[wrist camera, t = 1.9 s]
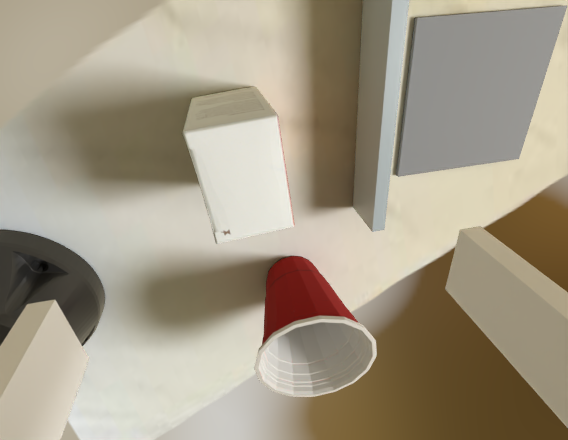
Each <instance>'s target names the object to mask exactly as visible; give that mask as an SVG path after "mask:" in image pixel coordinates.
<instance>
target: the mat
mask: <svg viewBox="0 0 568 440" xmlns="http://www.w3.org/2000/svg"><path fill="white" fill-rule="evenodd" d="M566 8H567V6H555V7H543V8H531V9H519V10H506V11H494V12H482V13H469V14H457V15H445V16H432V17H420V18H415V22H414V30H413V38H412V47H411V55H410V64H409V72H408V80H407V89H406V97H405V106H404V114H403V122H402V131H401V139H400V148H399V156H398V165H397V173H396V175H397V176H398V177H399V176H405V175H412V174H419V173H426V172H433V171H439V170H446V169H453V168H460V167H466V166H473V165H480V164H487V163H494V162H500V161H507V160H514V159H519V157H520V154H521V150H522V147H523V144H524V141H525V138H526V135H527V131H528V128H529V125H530V122H531V119H532V116H533V112H534V109H535V106H536V103H537V100H538V97H539V94H540V90H541V87H542V84H543V81H544V78H545V75H546V71H547V68H548V65H549V62H550V59H551V56H552V52H553V49H554V46H555V43H556V40H557V37H558V34H559V30H560V27H561V24H562V21H563V18H564V15H565V11H566Z"/></svg>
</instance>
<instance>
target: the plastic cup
mask: <svg viewBox="0 0 568 440" xmlns="http://www.w3.org/2000/svg"><path fill="white" fill-rule="evenodd" d="M376 355H377V353H376V340H375V339H374V338H373V337H372V335H371V334H370V333H369V332H368V331H367V329H366V328H365V327H364V326H363V325H362V324H360V323H358V321H357V320H356V319H355V318H354V316H353V315H352V314H351V313H350V311H349V310H348V309H347V308H346V307H345V305H344V304H343V303H342V301H341V300H340V298H339V297H338V296H337V294H336V293H335V292H334V290H333V289H332V287H331V286H330V285H329V283H328V282H327V281H326V280H325V278H324V277H323V276H322V275H321V274H320V273H319V271H318V270H317V268H316V267H315V266H314V265H313V264H312V263H311V262H310V261H309V260H307V259H305V258H303V257H298V256H290V257H287V258H283V259H281V260H279V261H278V262H276V263H275V264H274V265H273V266H272V267H271V269H270V270H269V272H268V276H267V281H266V298H265V316H264V337H263V342H262V346H261V347H260V348H259V351H258V355H257V359H256V363H255V367H254V369H255V371H256V374H257V376H258V379H259V381H260V382H261V383H262V384H263V385H265V386H266V387H267V388H269V389H270V390H272V391H273V392H276V393H280V394H284V395H287V396H291V397H314V396H318V395H323V394H327V393H332V392H335V391H338V390H339V389H342V388H344V387H346V386H348V385H350V384H352V383H354V382H355V381H357V380H358V379H359V378H360V377H361V376H362V375H364V374H365V373H366V372H367V371H368V370H369V369H370V367H371V365H372V363H373V361H374V359H375V357H376Z"/></svg>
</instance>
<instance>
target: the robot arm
mask: <svg viewBox="0 0 568 440" xmlns="http://www.w3.org/2000/svg"><path fill="white" fill-rule="evenodd" d="M445 289H446V290H447V292H448V293H449V294H450V295H451V296H452V297H453V298H454V300H455V301H456V302H457V303H458V304H459V305H460V306H461V307H462V308H463V310H464V311H465V312H466V313H467V314H468V315H469V317H470V318H471V319H472V320H473V321H474V322H475V323H476V324H477V326H478V327H479V328H480V329H481V330H482V331H483V332H484V333H485V335H486V336H487V337H488V338H489V339H490V340H491V341H492V343H493V344H494V345H495V346H496V347H497V348H498V349H499V351H500V352H501V353H502V354H503V355H504V356H505V357H506V359H507V360H508V361H509V362H510V363H511V364H512V365H513V366H514V368H515V369H516V370H517V371H518V372H519V373H520V374H521V375H522V377H523V378H524V379H525V380H526V381H527V382H528V384H530V386H531V387H532V388H533V389H534V390H535V391H536V393H537V394H538V395H539V396H540V397H541V398H542V399H543V401H544V402H545V403H546V404H547V405H548V406H549V407H550V408H551V410H552V411H553V412H554V413H555V414H556V415H557V416H558V418H559V419H560V420H561V421H562V422H563V423H564V424H565V425H566V427H567V428H568V293H567V292H566V291H565V290H563V289H562V288H561V287H560V286H558V285H557V284H556V283H554V282H553V281H552V280H550V279H549V278H548V277H546V276H545V275H544V274H542V273H541V272H540V271H538V270H537V269H535V267H533V266H532V265H530V264H529V263H528V262H526V261H525V260H524V259H523V258H521V257H520V256H519V255H517V254H516V253H515V252H513V251H512V250H511V249H509V248H508V247H507V246H505V245H504V244H503V243H501V242H500V241H499V240H497V239H496V238H495V237H494V236H492V235H491V234H490V233H488V232H487V231H486V230H484V229H483V228H482V227H480V226H479V227H473V228H467V229H462V230H460V232H459V236H458V240H457V244H456V248H455V252H454V256H453V260H452V264H451V268H450V273H449V277H448V280H447V284H446V288H445ZM104 304H105V293H104V289H103V285H102V283H101V281H100V279H99V277H98V275H97V274H96V272H95V271H94V270H93V268H92V267H91V266H90V265H89V264H88V263H87V262H86V261H85V260H84V259H82V258H81V257H80V256H79V255H77V254H76V253H74V252H73V251H71V250H70V249H68V248H66V247H65V246H63V245H61V244H59V243H56V242H54V241H52V240H49V239H46V238H43V237H40V236H37V235H33V234H28V233H23V232H17V231H6V230H0V440H61V437H62V434H63V431H64V429H65V426H66V423H67V420H68V417H69V415H70V412H71V409H72V406H73V403H74V401H75V398H76V395H77V392H78V389H79V387H80V384H81V381H82V378H83V375H84V372H85V370H86V367H87V364H88V361H89V357H88V355H87V354H86V352H85V350H84V349H83V347H82V346H83V345H84V344H85V343H86V342H87V341H88V340H89V339H90V337H91V336H92V335H93V333H94V331H95V330H96V328H97V325H98V323H99V320H100V317H101V315H102V312H103V309H104Z"/></svg>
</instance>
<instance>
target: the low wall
mask: <svg viewBox="0 0 568 440" xmlns="http://www.w3.org/2000/svg"><path fill="white" fill-rule="evenodd" d="M408 7H409V0H363V7H362V28H361V49H360V69H359V90H358V111H357V131H356V152H355V173H354V193H353V208H354V209H355V210H356V212H357V213H358V214H359V215H360V217H361V218H362V219H363V220H364V222H365V223H366V224H367V226H368V227H369V228H370V229H371V231H372V232H374V231H380V230H384V228H385V219H386V209H387V200H388V191H389V182H390V173H391V163H392V154H393V145H394V136H395V127H396V118H397V108H398V99H399V90H400V81H401V72H402V62H403V53H404V44H405V35H406V26H407V16H408Z"/></svg>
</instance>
